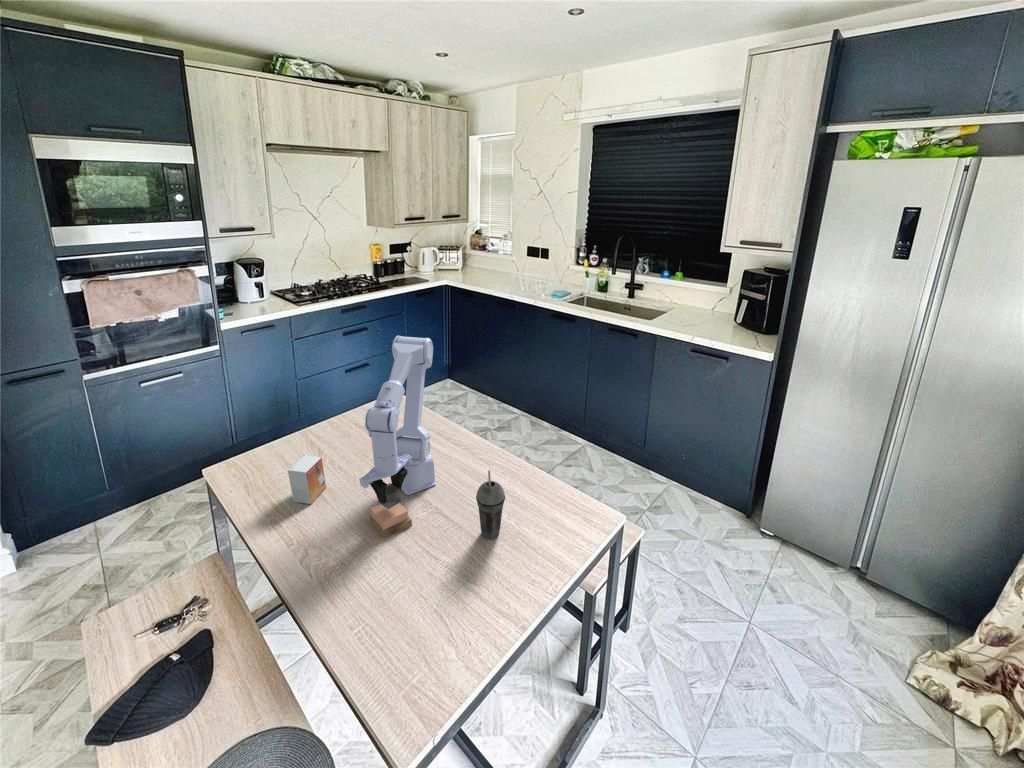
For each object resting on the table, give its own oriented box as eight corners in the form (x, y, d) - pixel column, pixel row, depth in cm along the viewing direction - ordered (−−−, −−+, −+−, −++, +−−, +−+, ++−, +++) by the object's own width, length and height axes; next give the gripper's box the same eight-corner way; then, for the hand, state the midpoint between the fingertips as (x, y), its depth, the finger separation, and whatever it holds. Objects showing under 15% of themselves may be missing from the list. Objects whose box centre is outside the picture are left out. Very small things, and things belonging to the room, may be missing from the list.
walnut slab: (398, 511, 135) (398, 503, 134) (412, 527, 130) (411, 519, 128) (370, 522, 131) (370, 514, 130) (383, 539, 125) (382, 531, 124)
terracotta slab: (395, 505, 134) (394, 497, 133) (408, 518, 129) (407, 511, 128) (371, 516, 129) (370, 508, 128) (383, 530, 125) (382, 522, 124)
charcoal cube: (391, 495, 130) (389, 482, 128) (400, 501, 128) (399, 489, 126) (378, 502, 127) (377, 490, 125) (388, 509, 125) (387, 496, 123)
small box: (311, 505, 136) (305, 473, 131) (293, 502, 137) (286, 470, 132) (327, 487, 143) (322, 456, 139) (309, 485, 144) (304, 454, 140)
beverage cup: (508, 528, 129) (510, 463, 121) (498, 546, 123) (499, 480, 115) (482, 521, 131) (482, 457, 123) (471, 539, 125) (470, 473, 117)
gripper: (398, 435, 128) (401, 478, 134) (349, 458, 118) (355, 504, 124) (416, 444, 124) (419, 489, 130) (368, 469, 114) (373, 516, 120)
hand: (389, 497), depth 127 cm, fingers closed on charcoal cube, 4 cm apart
